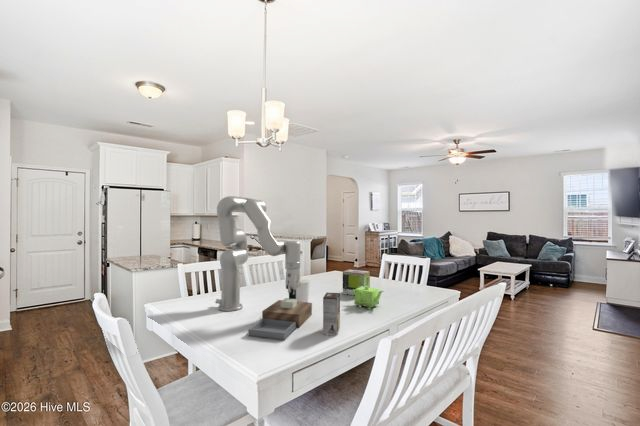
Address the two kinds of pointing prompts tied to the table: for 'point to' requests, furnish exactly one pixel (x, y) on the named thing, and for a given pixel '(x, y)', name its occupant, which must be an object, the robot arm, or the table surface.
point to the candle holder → (303, 291)
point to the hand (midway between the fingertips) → (292, 302)
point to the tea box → (355, 280)
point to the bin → (272, 329)
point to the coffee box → (331, 313)
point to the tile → (288, 303)
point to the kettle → (366, 296)
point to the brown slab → (288, 312)
